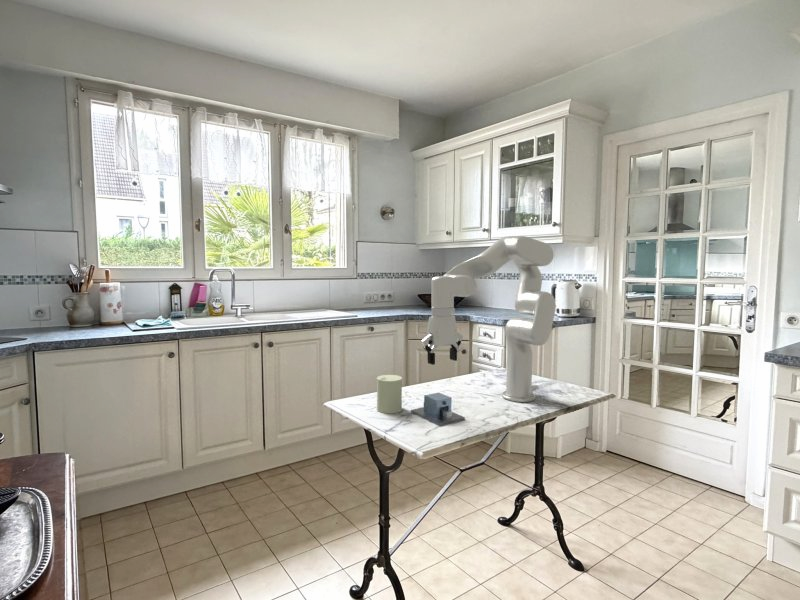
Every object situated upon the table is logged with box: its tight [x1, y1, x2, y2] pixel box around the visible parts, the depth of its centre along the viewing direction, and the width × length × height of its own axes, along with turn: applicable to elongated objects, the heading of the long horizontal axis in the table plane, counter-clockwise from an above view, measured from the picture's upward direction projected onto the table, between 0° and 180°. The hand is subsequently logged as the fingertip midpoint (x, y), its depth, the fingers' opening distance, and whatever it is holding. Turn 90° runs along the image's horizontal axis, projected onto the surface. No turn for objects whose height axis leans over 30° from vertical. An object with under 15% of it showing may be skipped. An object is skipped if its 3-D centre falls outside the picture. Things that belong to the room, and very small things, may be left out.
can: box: [376, 374, 403, 414], centre depth 162 cm, size 9×9×12 cm
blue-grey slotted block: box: [423, 392, 452, 418], centre depth 155 cm, size 6×7×6 cm
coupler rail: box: [410, 406, 466, 427], centre depth 155 cm, size 11×16×3 cm
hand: (442, 361), depth 154 cm, fingers open, 9 cm apart
